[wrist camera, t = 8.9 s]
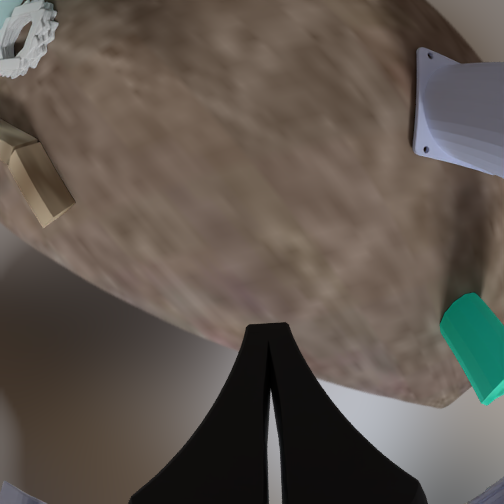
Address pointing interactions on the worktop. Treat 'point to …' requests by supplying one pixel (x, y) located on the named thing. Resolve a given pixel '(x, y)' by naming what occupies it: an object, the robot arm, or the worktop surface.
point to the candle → (476, 344)
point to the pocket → (34, 174)
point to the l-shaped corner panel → (41, 33)
